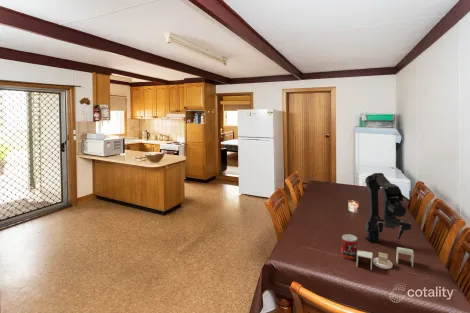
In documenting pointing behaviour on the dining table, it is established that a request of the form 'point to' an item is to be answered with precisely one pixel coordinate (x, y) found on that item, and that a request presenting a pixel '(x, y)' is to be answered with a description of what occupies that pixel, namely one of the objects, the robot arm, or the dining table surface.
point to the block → (382, 258)
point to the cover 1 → (364, 254)
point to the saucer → (388, 266)
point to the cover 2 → (405, 251)
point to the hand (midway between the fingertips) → (388, 237)
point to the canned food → (349, 246)
